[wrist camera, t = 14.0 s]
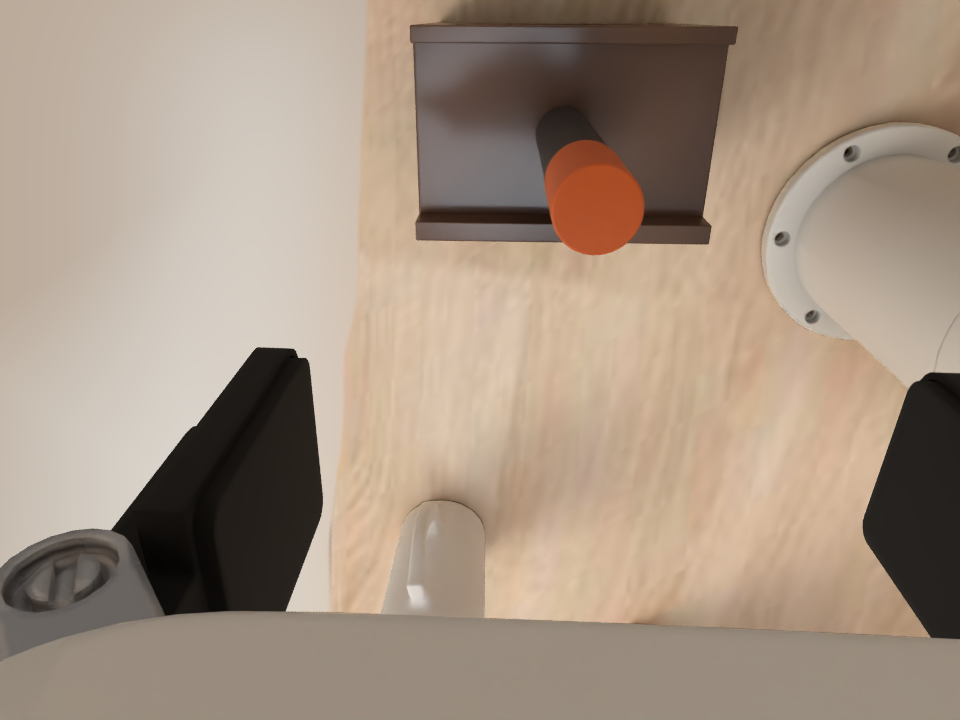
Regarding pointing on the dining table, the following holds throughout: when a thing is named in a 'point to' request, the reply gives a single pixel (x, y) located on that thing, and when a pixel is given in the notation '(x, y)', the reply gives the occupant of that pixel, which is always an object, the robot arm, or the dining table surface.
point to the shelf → (554, 83)
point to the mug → (438, 563)
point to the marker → (586, 185)
